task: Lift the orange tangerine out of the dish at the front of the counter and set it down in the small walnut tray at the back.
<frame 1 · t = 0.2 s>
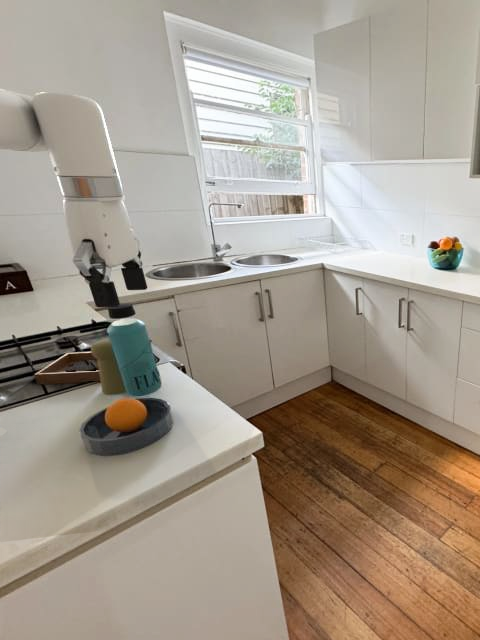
hand: (124, 297, 65), 24 cm above the worktop, tool pointing down, fingers open, 9 cm apart
beverage bottle: (146, 395, 81), on the worktop
tray: (87, 371, 89), on the worktop
dish: (131, 431, 69), on the worktop
cork: (119, 388, 83), on the worktop
tangerine: (126, 415, 68), point 3 cm above the worktop, touching dish
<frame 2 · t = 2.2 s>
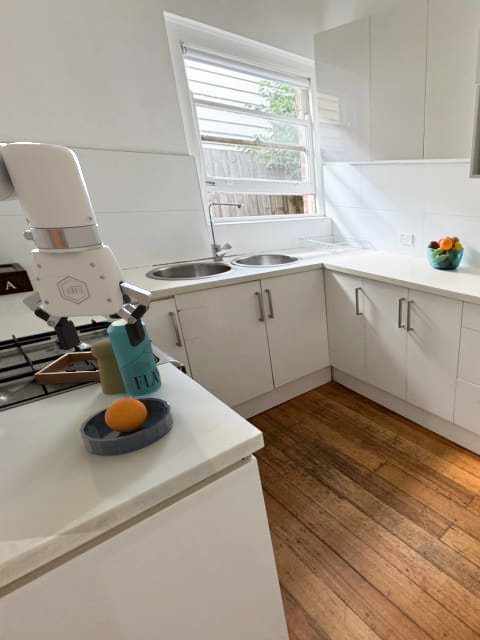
hand: (105, 345, 62), 17 cm above the worktop, tool pointing down, fingers open, 9 cm apart
nothing on the worktop moved.
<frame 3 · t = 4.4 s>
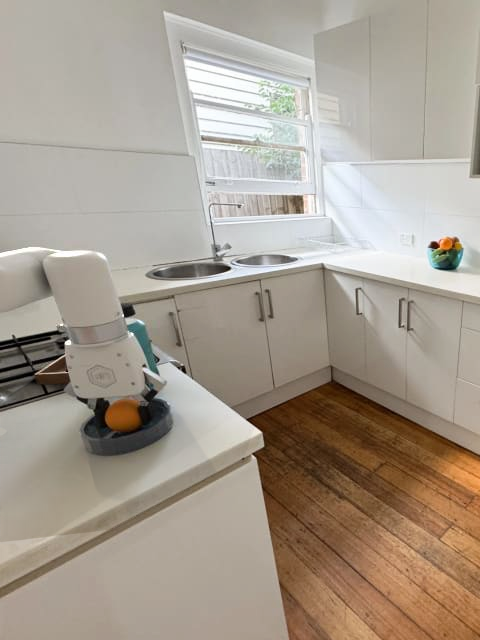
hand: (128, 421, 68), 2 cm above the worktop, tool pointing down, fingers closed on tangerine, 6 cm apart
tangerine: (126, 415, 68), point 3 cm above the worktop, touching gripper, dish
everything else where it was.
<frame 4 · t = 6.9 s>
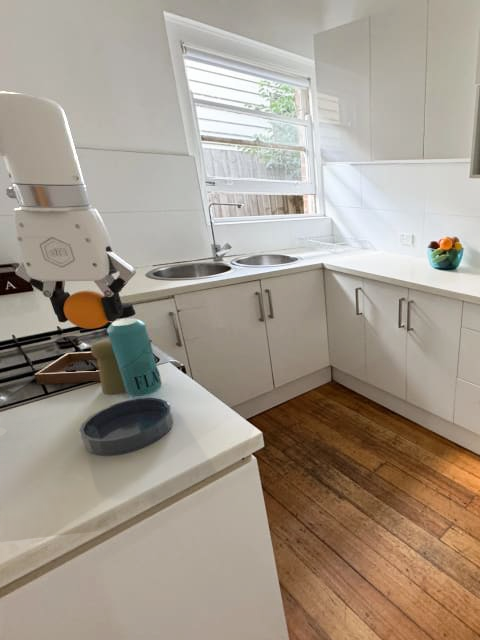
hand: (91, 317, 60), 22 cm above the worktop, tool pointing down, fingers closed on tangerine, 6 cm apart
tangerine: (89, 309, 60), point 23 cm above the worktop, touching gripper
everything else where it was.
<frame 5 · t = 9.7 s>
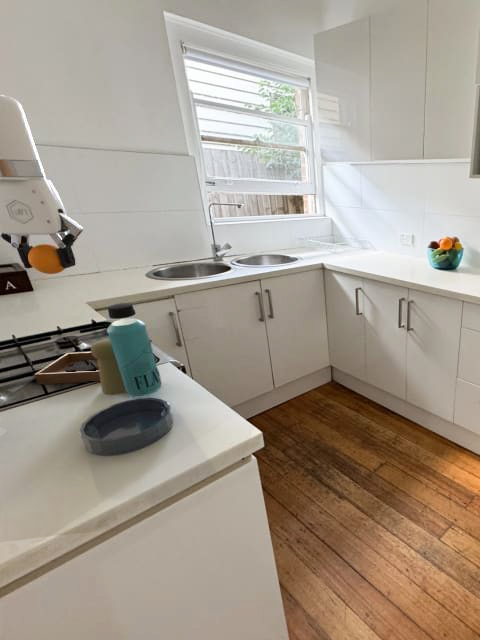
hand: (51, 265, 78), 25 cm above the worktop, tool pointing down, fingers closed on tangerine, 6 cm apart
tangerine: (48, 259, 78), point 26 cm above the worktop, touching gripper
everything else where it was.
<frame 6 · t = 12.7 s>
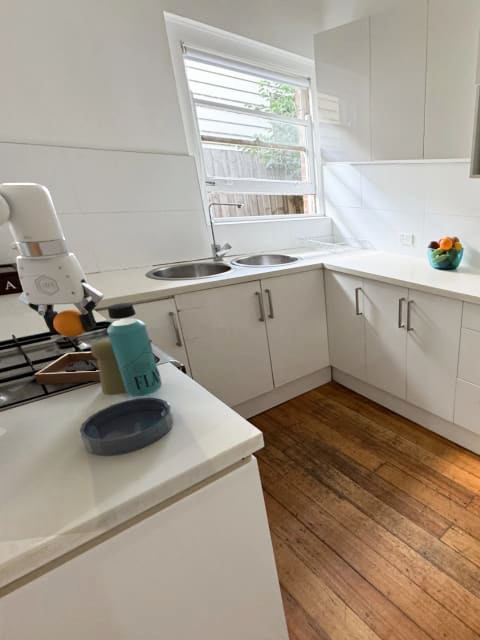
hand: (73, 329, 85), 11 cm above the worktop, tool pointing down, fingers closed on tangerine, 6 cm apart
tangerine: (71, 323, 84), point 12 cm above the worktop, touching gripper
everything else where it was.
when the fingers open (2 cm above the worktop, at t = 15.1 s): tangerine stays where it is, resting on tray.
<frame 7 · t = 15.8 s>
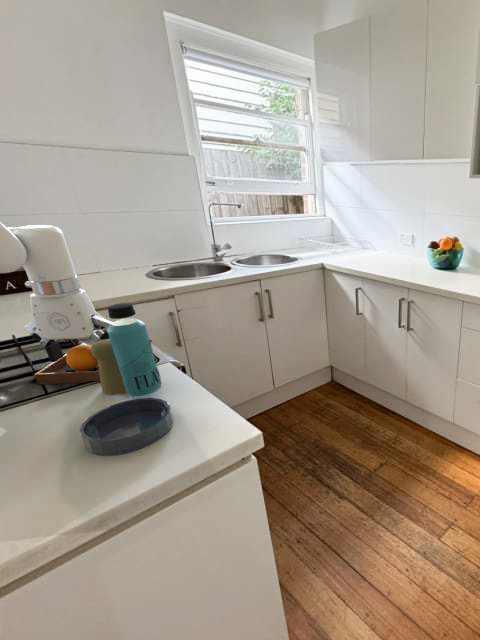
hand: (81, 358, 88), 3 cm above the worktop, tool pointing down, fingers open, 9 cm apart
tangerine: (83, 358, 88), point 3 cm above the worktop, tilted 8°, touching tray
everything else where it was.
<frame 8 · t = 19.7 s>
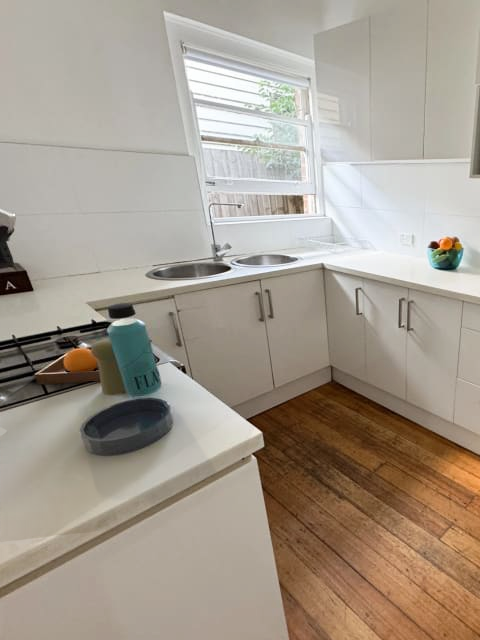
tangerine: (81, 361, 86), point 3 cm above the worktop, tilted 43°, touching tray
everything else where it was.
at the end: tangerine inside the target area on the tray (2.1 cm from its centre), point 3.5 cm above the tray's base; tangerine moved 31.4 cm from its start; the gripper is holding nothing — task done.
